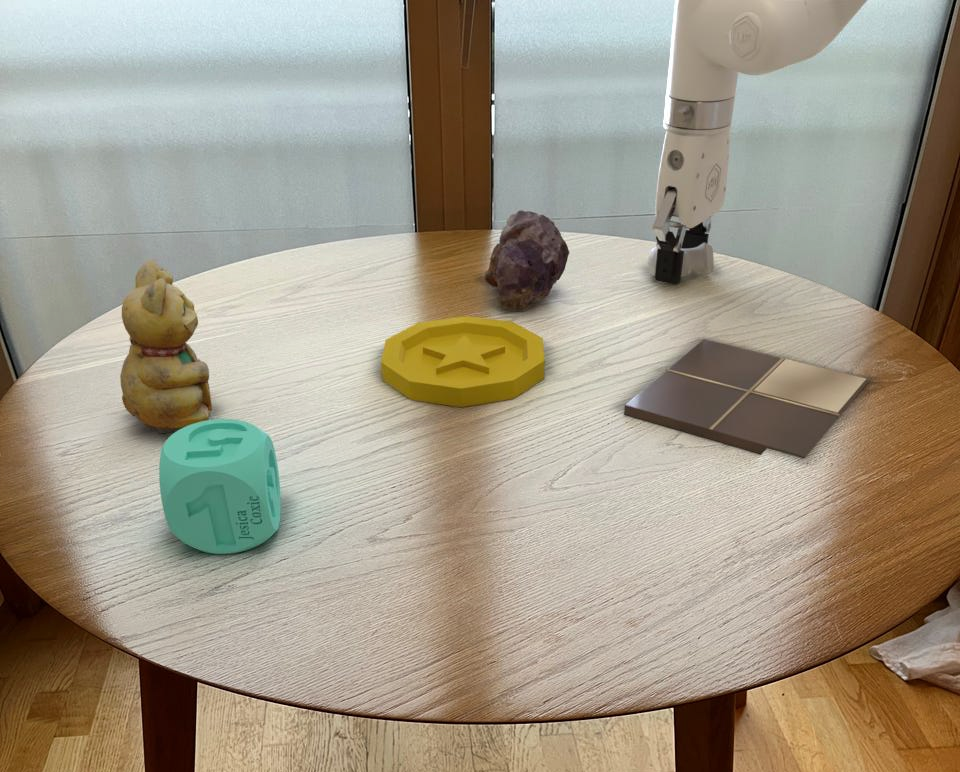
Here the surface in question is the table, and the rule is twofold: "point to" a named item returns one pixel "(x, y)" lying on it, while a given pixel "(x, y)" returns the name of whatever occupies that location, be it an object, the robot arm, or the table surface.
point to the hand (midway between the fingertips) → (679, 271)
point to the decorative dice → (220, 486)
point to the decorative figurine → (162, 355)
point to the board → (747, 399)
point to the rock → (526, 260)
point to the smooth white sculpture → (690, 260)
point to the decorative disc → (463, 361)
